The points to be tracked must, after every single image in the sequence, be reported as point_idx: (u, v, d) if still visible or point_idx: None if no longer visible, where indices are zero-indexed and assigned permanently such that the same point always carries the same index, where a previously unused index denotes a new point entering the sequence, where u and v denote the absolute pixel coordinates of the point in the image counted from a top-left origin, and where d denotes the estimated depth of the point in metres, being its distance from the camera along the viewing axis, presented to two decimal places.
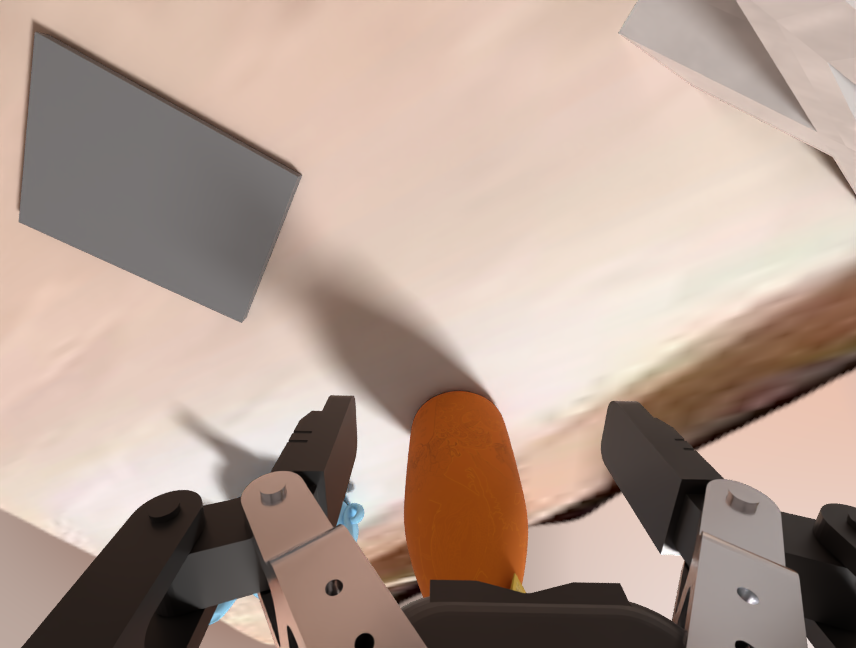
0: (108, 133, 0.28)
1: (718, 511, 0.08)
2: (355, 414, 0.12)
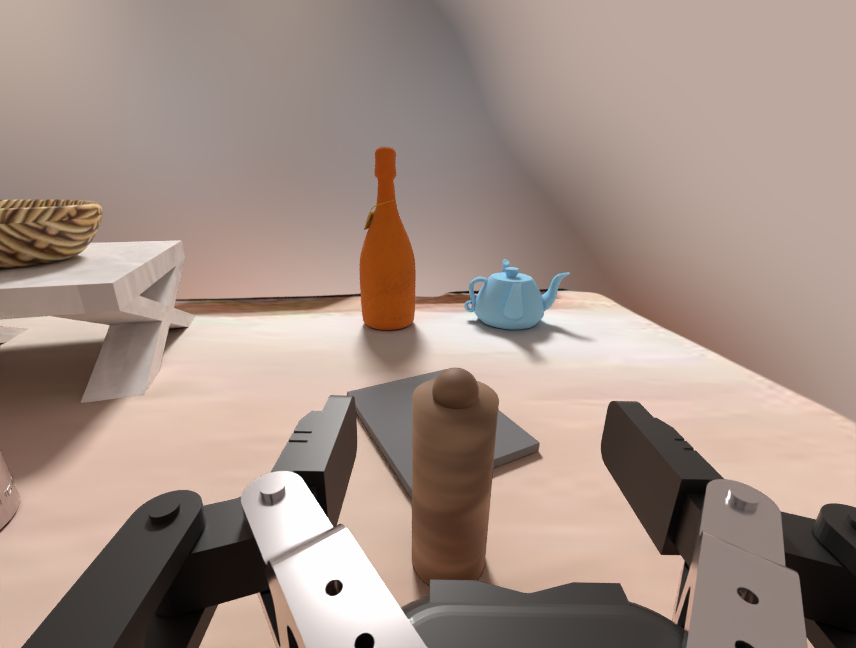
0: None
1: (718, 511, 0.08)
2: (355, 414, 0.12)
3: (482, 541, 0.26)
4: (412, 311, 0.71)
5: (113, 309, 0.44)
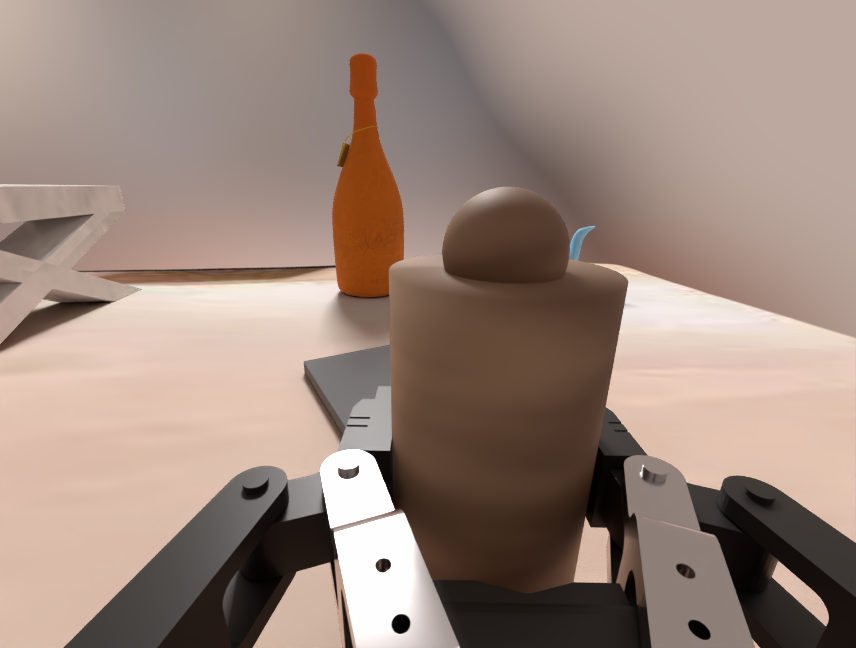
0: None
1: (638, 488, 0.08)
2: None
3: None
4: None
5: None
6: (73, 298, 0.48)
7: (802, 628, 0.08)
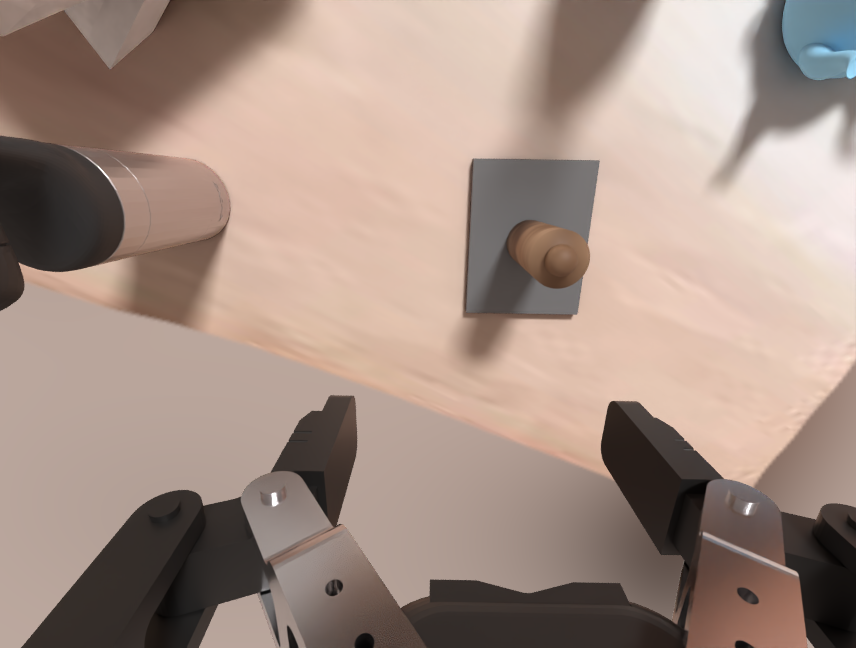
0: (500, 272, 0.49)
1: (718, 511, 0.08)
2: (355, 414, 0.12)
3: None
4: None
5: None
6: None
7: None
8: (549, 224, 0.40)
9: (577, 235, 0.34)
